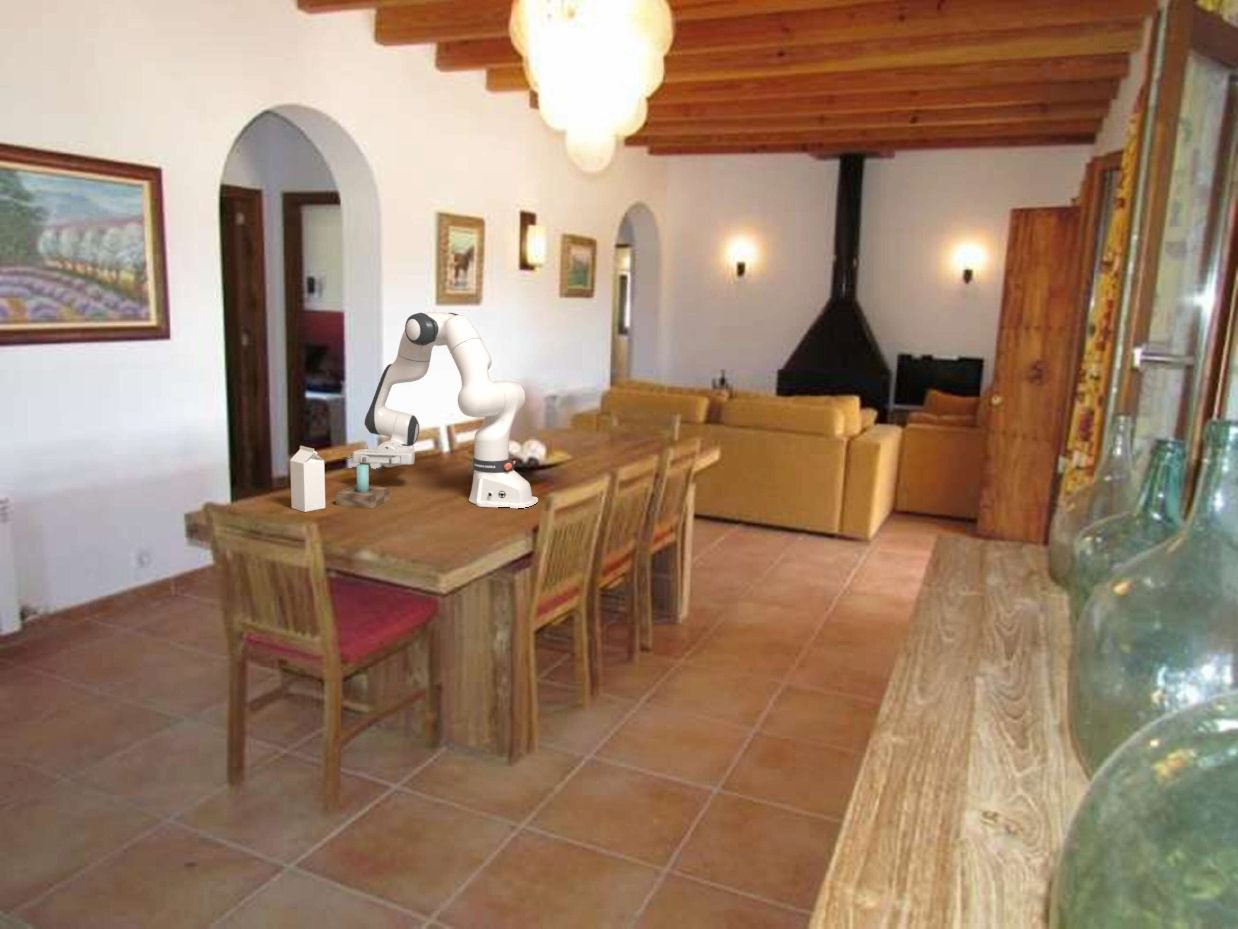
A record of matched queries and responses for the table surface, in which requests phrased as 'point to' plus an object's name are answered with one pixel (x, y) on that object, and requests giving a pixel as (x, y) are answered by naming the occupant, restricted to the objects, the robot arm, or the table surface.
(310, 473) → the milk carton
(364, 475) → the peg
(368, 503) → the socket block
